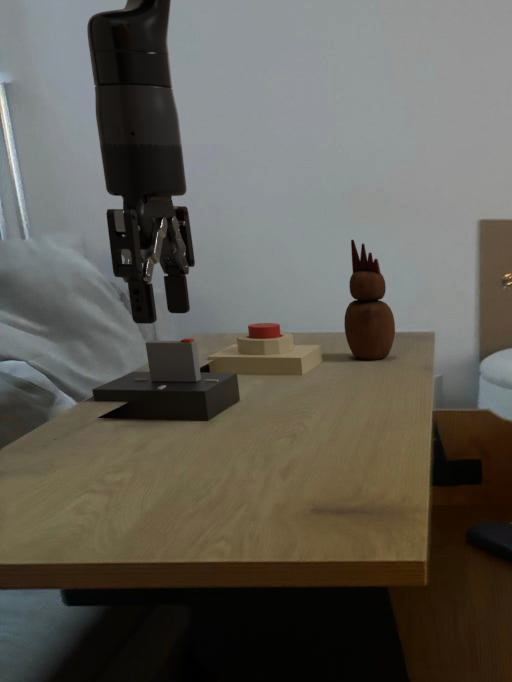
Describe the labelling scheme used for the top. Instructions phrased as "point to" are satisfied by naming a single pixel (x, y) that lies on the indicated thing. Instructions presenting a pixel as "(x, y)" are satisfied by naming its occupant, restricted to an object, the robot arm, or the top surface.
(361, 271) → the wooden figurine
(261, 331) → the stop button
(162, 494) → the top surface
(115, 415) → the panel
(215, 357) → the stop box
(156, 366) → the gray flat block
